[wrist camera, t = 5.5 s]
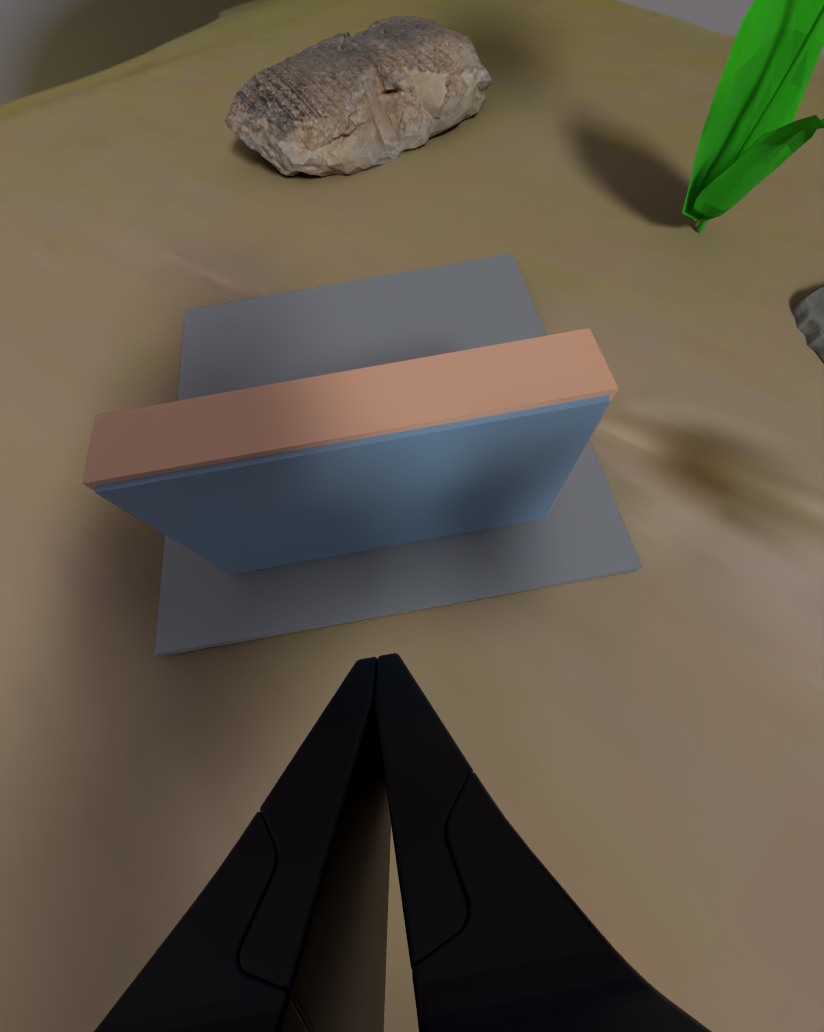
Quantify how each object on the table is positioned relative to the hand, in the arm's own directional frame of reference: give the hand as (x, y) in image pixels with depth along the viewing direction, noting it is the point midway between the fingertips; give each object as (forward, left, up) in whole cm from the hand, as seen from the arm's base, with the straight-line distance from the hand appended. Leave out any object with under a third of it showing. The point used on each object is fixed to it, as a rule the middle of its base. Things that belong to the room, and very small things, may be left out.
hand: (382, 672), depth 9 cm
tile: (+5, -4, -8) cm, 10 cm away
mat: (+10, -8, -8) cm, 15 cm away
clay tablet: (+32, -28, -9) cm, 43 cm away
